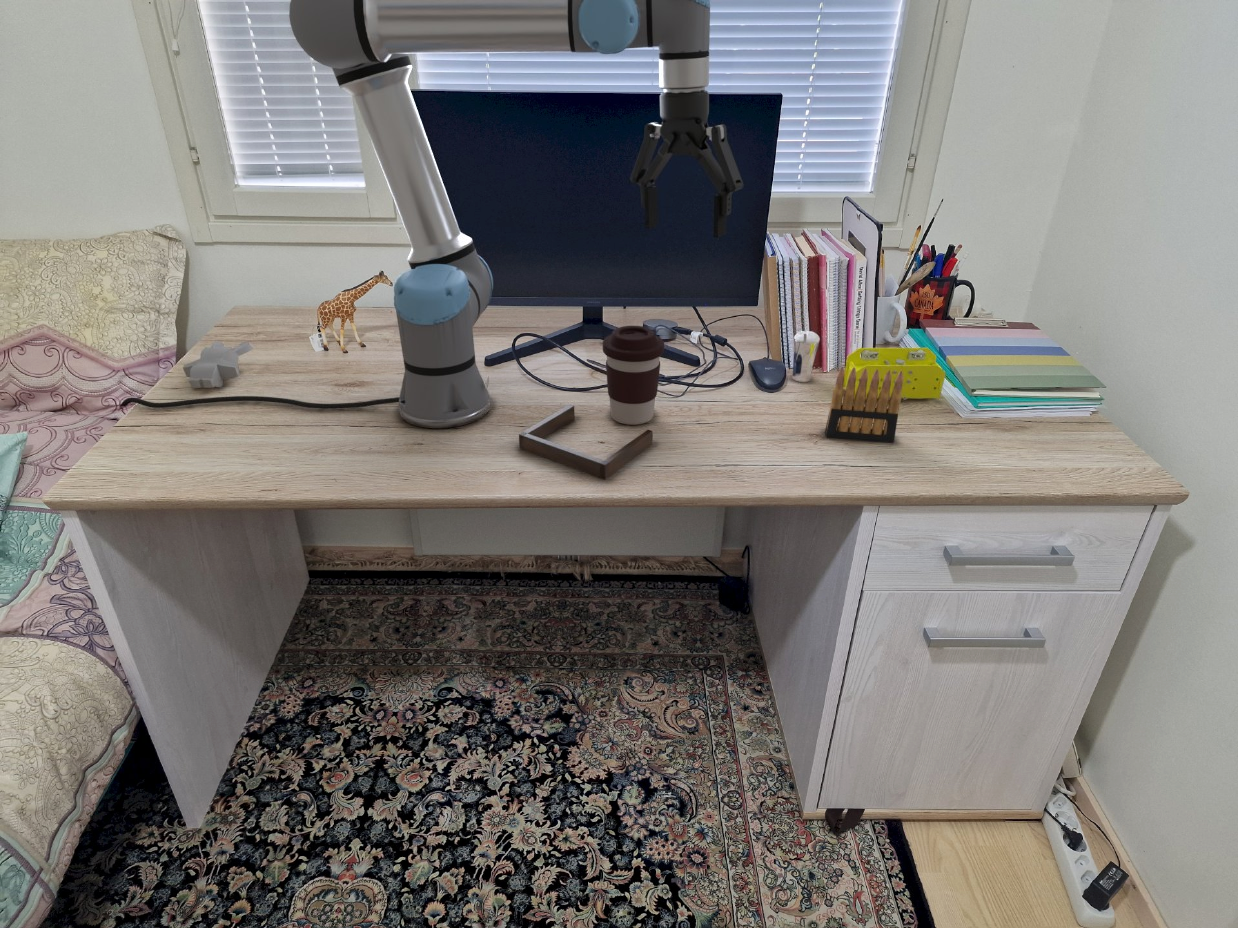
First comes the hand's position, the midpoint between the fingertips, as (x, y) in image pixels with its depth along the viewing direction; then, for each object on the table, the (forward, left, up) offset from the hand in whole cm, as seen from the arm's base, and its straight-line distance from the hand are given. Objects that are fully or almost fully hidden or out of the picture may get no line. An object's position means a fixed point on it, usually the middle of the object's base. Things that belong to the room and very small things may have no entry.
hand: (684, 231), depth 127 cm
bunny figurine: (-81, -26, -28) cm, 90 cm away
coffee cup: (-4, -15, -28) cm, 32 cm away
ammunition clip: (+33, -10, -28) cm, 45 cm away
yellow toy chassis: (+37, +8, -28) cm, 47 cm away
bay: (-7, -27, -28) cm, 40 cm away
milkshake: (+21, +10, -28) cm, 37 cm away
